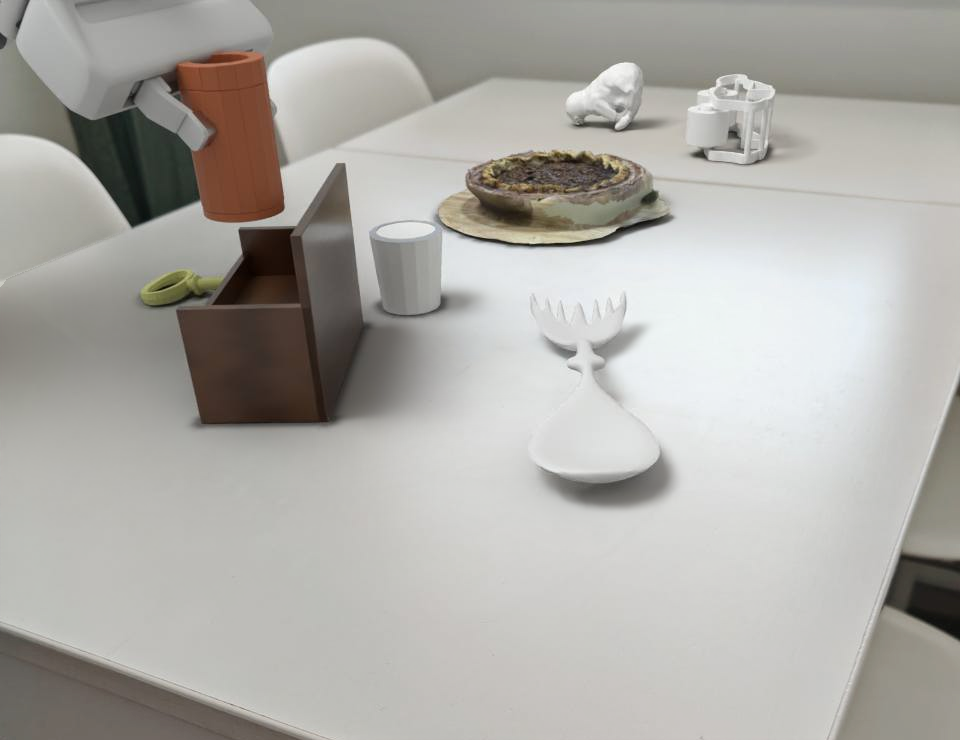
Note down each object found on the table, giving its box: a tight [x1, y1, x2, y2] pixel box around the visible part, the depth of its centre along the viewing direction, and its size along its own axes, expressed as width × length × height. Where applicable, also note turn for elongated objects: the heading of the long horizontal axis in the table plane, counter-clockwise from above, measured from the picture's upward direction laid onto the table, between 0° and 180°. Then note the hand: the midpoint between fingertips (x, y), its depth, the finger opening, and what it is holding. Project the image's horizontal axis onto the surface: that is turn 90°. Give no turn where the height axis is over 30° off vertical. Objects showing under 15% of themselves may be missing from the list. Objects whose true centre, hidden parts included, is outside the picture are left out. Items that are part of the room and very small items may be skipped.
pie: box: [438, 149, 671, 245], centre depth 119 cm, size 28×27×5 cm
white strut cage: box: [684, 73, 776, 165], centre depth 139 cm, size 20×11×7 cm, turn 164°
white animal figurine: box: [565, 61, 645, 132], centre depth 152 cm, size 6×8×12 cm
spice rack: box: [175, 162, 364, 424], centre depth 81 cm, size 10×20×14 cm, turn 177°
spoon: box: [528, 290, 661, 484], centre depth 78 cm, size 9×32×4 cm, turn 178°
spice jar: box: [176, 51, 286, 224], centre depth 72 cm, size 6×6×10 cm
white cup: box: [368, 219, 443, 316], centre depth 95 cm, size 7×7×7 cm
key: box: [140, 268, 225, 306], centre depth 101 cm, size 7×12×2 cm, turn 96°
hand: (238, 131), depth 71 cm, fingers closed on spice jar, 6 cm apart
